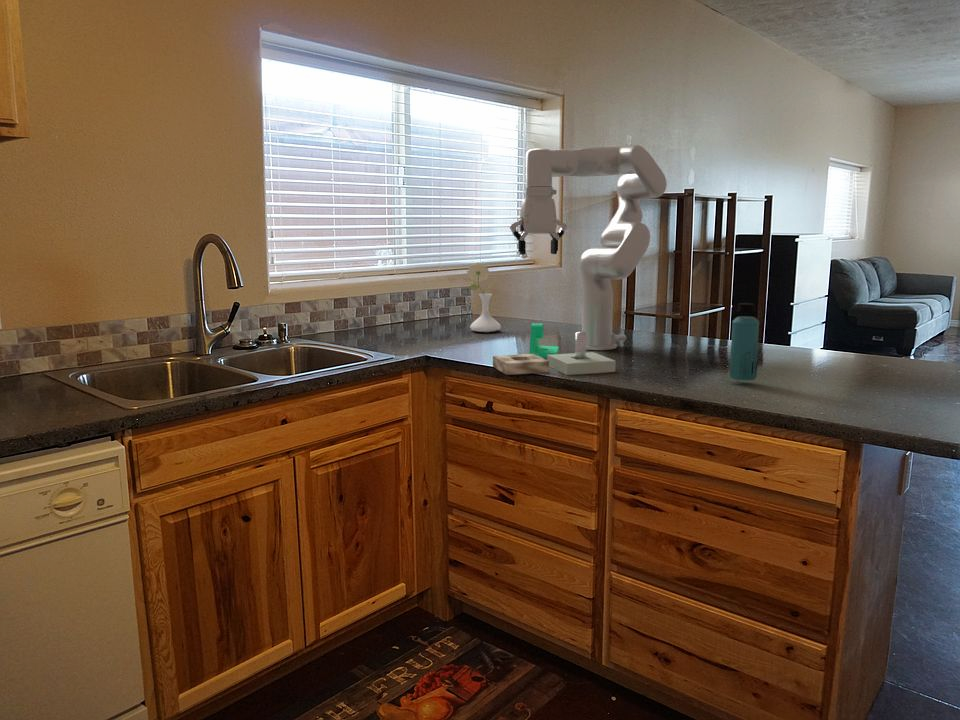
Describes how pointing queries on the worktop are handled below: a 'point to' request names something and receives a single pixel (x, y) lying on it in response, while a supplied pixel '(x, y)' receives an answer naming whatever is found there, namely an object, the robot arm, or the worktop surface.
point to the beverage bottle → (744, 344)
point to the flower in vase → (485, 320)
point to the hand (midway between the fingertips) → (538, 254)
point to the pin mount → (520, 364)
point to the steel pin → (580, 345)
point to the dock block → (581, 363)
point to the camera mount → (537, 333)
